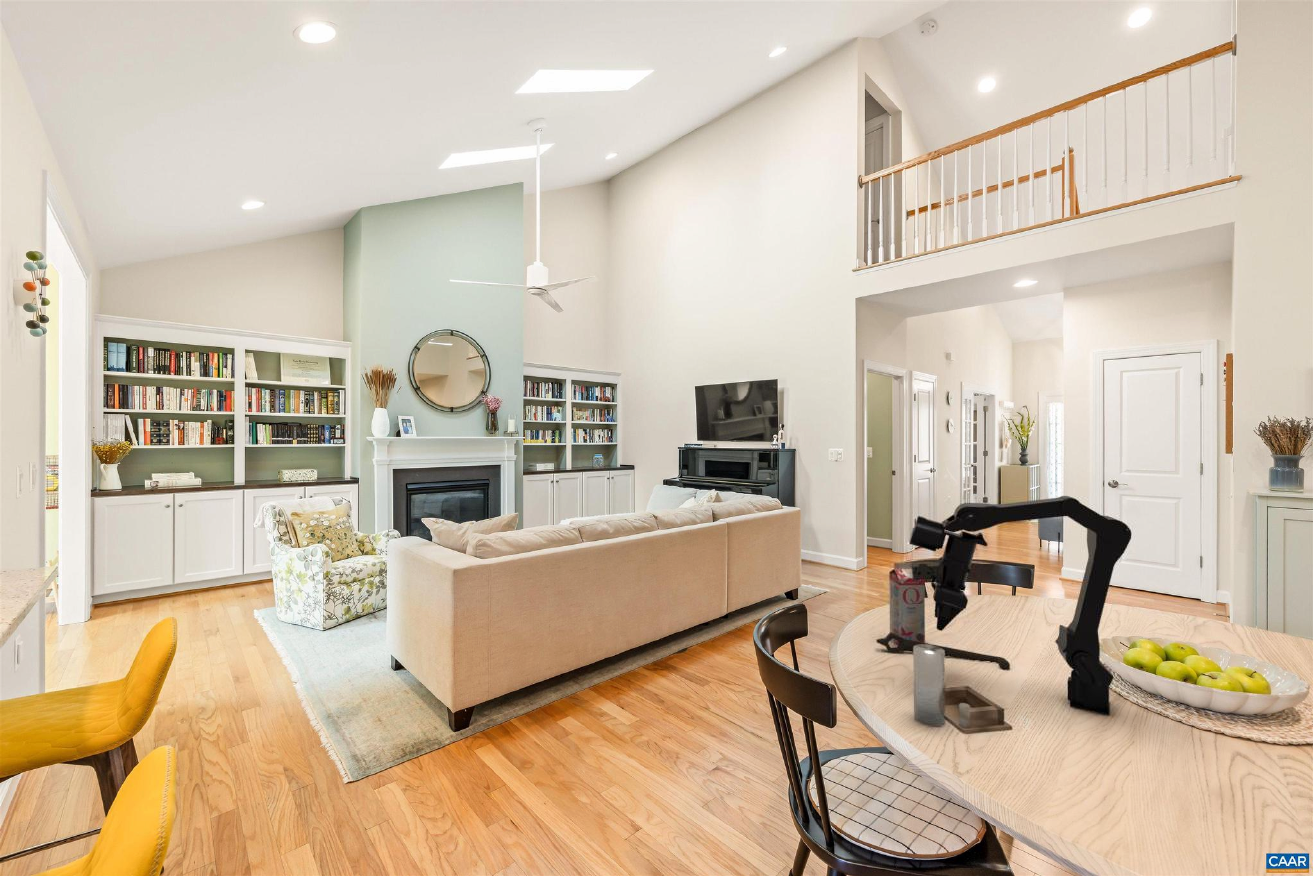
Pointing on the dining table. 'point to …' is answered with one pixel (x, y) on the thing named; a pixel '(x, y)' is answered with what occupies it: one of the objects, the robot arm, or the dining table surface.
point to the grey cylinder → (929, 685)
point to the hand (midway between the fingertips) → (937, 623)
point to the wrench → (949, 652)
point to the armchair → (973, 711)
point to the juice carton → (906, 604)
